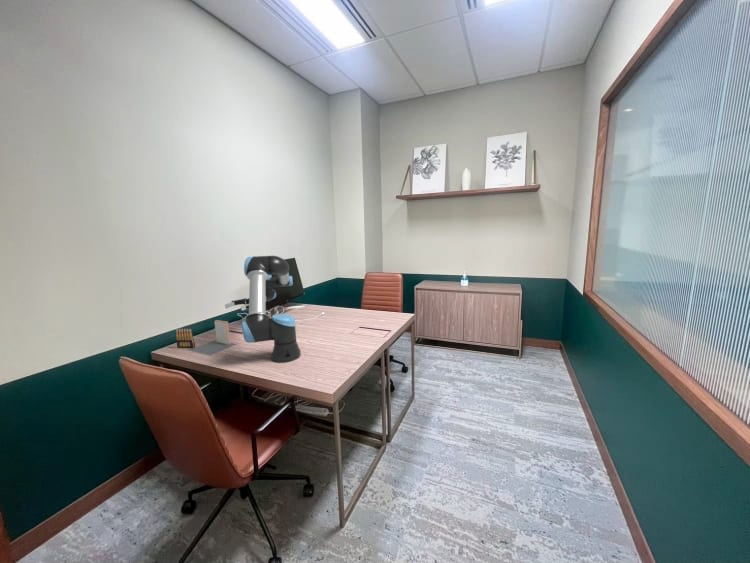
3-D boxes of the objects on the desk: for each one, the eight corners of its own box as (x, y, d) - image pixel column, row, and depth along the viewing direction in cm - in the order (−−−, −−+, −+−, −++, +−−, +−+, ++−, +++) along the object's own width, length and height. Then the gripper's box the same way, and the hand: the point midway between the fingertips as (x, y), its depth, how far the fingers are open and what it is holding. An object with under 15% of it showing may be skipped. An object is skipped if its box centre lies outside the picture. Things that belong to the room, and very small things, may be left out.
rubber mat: (237, 344, 180) (237, 344, 180) (210, 355, 165) (210, 355, 164) (216, 340, 189) (216, 339, 189) (188, 350, 173) (188, 349, 173)
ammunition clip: (177, 348, 177) (174, 329, 175) (179, 347, 179) (176, 328, 177) (193, 348, 175) (190, 329, 174) (195, 347, 177) (192, 328, 175)
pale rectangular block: (230, 343, 182) (228, 321, 179) (227, 344, 180) (224, 322, 177) (219, 341, 186) (217, 320, 184) (216, 342, 184) (213, 321, 182)
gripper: (272, 305, 203) (248, 315, 184) (245, 302, 213) (220, 311, 193) (271, 295, 202) (247, 303, 182) (244, 292, 211) (218, 300, 192)
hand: (233, 307), depth 188 cm, fingers open, 13 cm apart
